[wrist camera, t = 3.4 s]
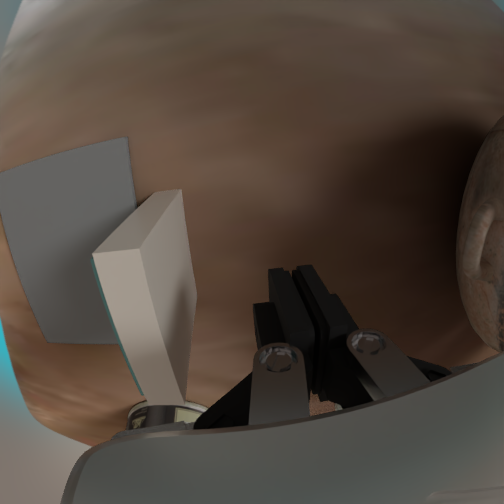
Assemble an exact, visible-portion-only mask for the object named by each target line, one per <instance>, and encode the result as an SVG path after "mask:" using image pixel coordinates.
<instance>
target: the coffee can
mask: <svg viewBox="0 0 504 504" xmlns="http://www.w3.org/2000/svg"><path fill="white" fill-rule="evenodd" d="M207 409H209V408H207V407H204V406H202V405H199V404H196V403H192V402H188V401H185V405H149V404H148V402H147V401H145V402H142V403H139V404H137V405H136V406H134V407H133V408H132V409H131V410H130V412H129V414H128V422H127V426H126V430H133V429H140V428H146V427H153V426H158V425H164V424H169V423H175V422H180V421H184V422H185V424H187V423H191V422H195V421H196V419H197V418H198V417H199V416H200V415H201V414H202V413H204V412H205V411H206V410H207Z"/></svg>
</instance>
